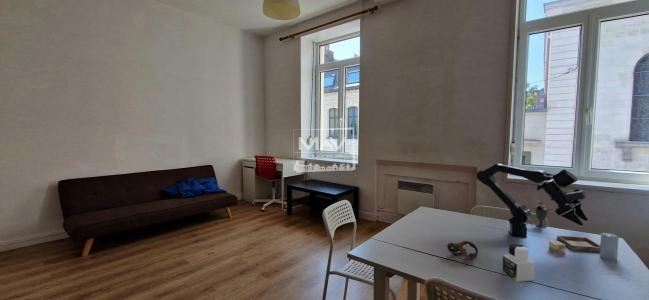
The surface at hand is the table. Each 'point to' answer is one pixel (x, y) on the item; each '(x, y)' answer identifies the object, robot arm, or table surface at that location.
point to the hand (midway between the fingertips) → (584, 222)
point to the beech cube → (557, 247)
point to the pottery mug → (463, 250)
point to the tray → (579, 243)
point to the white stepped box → (518, 263)
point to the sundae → (541, 214)
